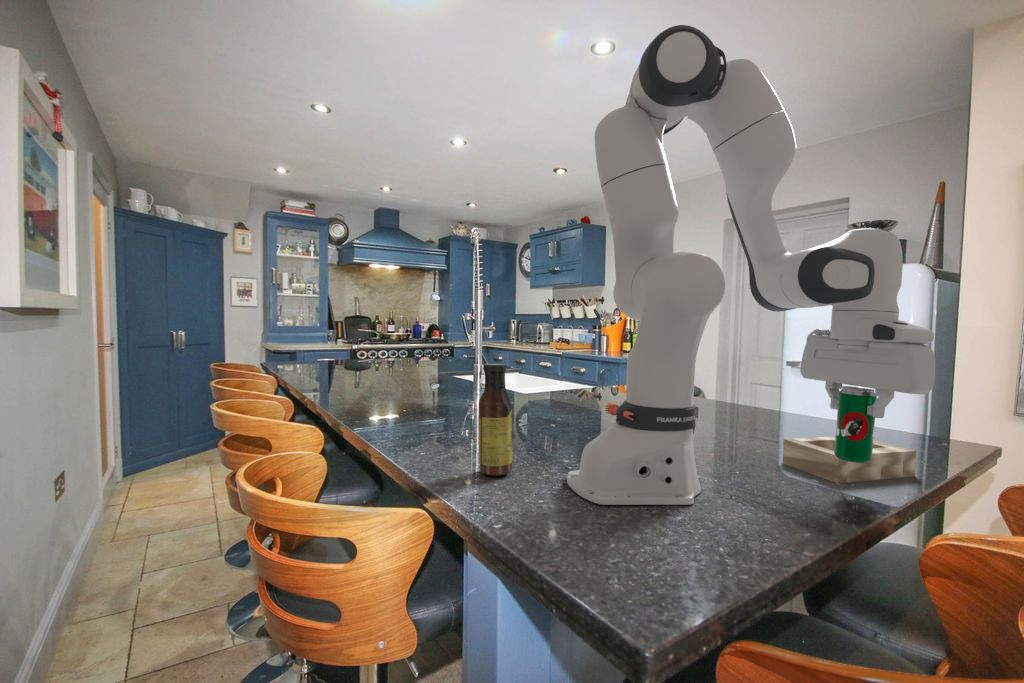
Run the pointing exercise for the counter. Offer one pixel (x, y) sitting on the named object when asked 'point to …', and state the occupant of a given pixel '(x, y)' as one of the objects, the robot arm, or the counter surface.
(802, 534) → the counter surface
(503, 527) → the counter surface
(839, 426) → the soda can
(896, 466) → the keyhole board
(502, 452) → the sauce bottle
